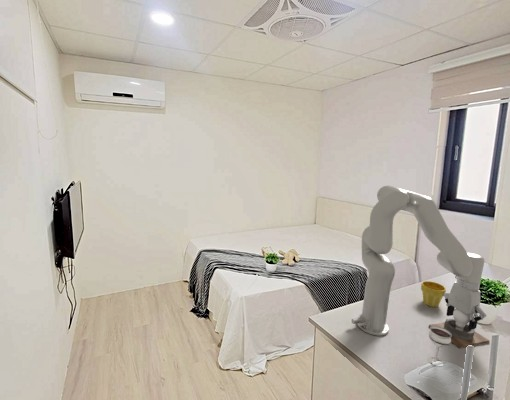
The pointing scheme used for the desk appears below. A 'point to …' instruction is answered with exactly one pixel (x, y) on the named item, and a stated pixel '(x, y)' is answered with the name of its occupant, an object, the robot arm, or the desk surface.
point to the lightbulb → (460, 319)
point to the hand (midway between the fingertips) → (460, 321)
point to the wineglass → (439, 339)
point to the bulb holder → (462, 334)
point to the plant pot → (432, 293)
